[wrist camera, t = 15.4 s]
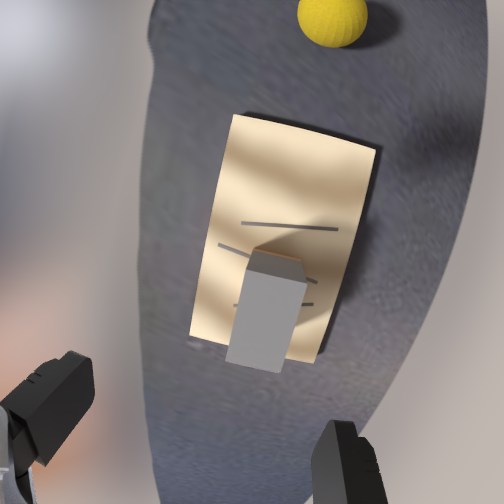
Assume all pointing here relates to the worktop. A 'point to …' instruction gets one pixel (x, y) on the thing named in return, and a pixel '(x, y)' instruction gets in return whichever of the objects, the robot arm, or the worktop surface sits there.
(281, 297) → the block
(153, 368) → the worktop surface
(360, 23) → the lemon
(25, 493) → the robot arm
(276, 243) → the board
